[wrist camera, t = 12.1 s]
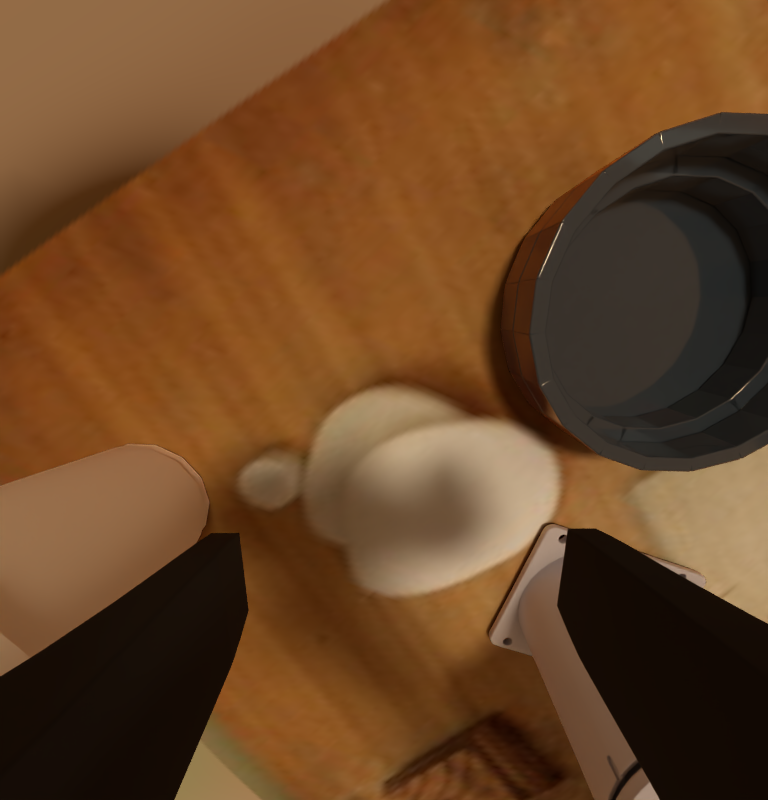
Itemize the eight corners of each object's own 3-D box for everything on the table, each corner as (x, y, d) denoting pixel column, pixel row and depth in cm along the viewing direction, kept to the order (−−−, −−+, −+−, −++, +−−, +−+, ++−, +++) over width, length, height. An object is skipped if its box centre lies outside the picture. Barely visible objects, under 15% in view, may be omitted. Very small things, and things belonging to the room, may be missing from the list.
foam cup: (119, 375, 18) (-555, 545, 5) (274, 490, 19) (59, 848, 6) (24, 509, 19) (-652, 887, 7) (173, 605, 21) (-152, 1064, 8)
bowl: (824, 224, 16) (965, 197, 12) (677, 468, 19) (754, 510, 15) (572, 114, 15) (637, 46, 11) (456, 389, 18) (477, 412, 14)
